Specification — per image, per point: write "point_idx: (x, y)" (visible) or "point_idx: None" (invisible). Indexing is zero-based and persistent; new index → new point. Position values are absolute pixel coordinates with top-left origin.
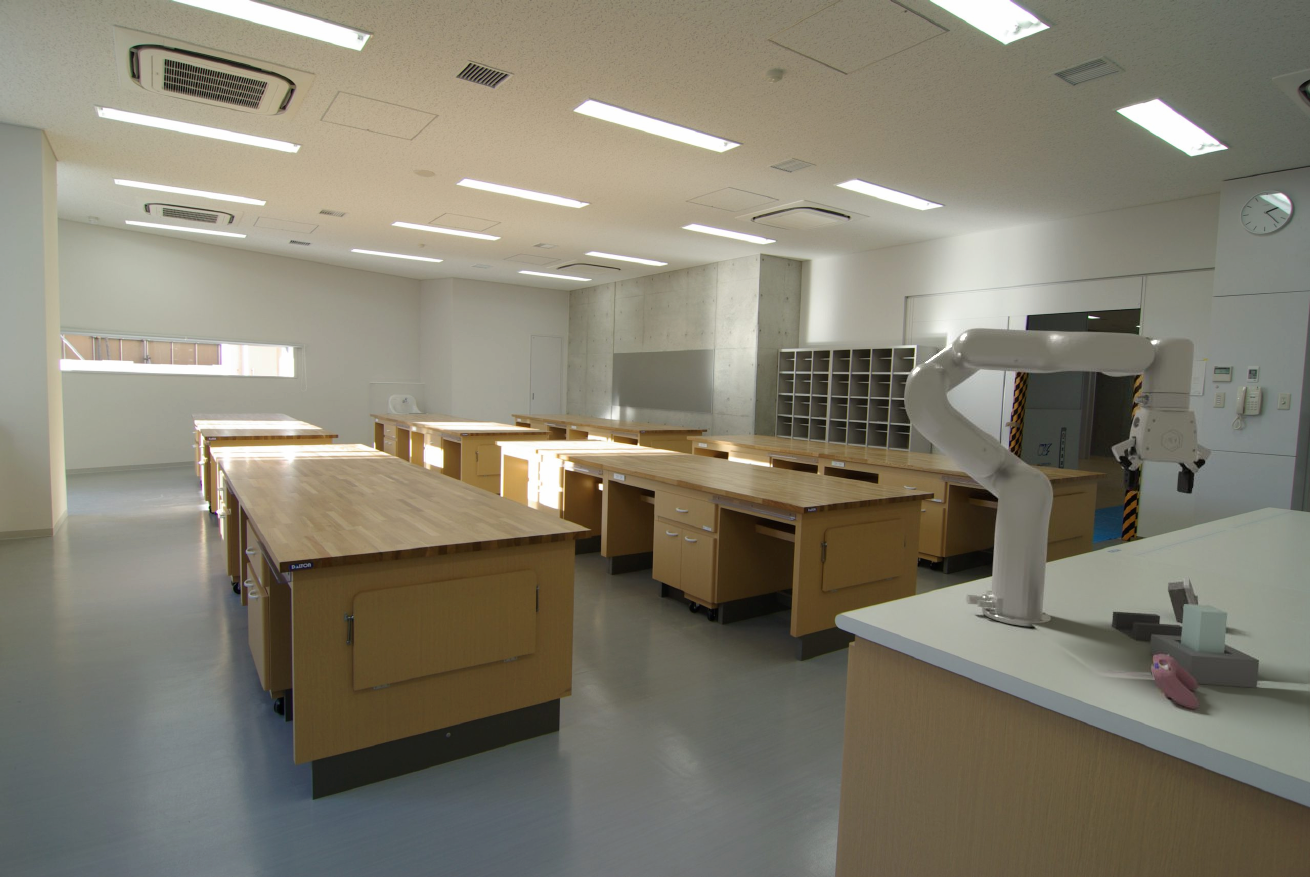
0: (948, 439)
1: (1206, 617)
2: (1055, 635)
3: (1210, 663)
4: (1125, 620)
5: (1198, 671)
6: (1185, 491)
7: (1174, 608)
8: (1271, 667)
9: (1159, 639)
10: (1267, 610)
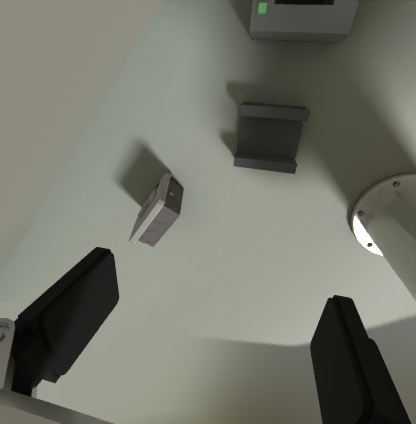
0: None
1: None
2: (405, 141)
3: None
4: (282, 160)
5: None
6: (111, 264)
7: (180, 199)
8: (173, 37)
9: (357, 6)
10: (49, 242)
